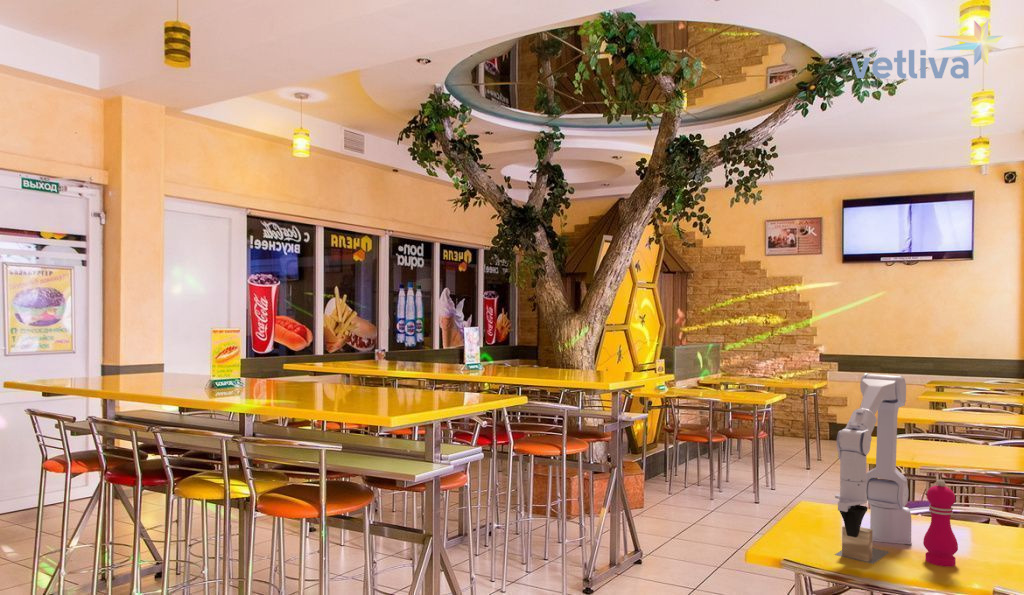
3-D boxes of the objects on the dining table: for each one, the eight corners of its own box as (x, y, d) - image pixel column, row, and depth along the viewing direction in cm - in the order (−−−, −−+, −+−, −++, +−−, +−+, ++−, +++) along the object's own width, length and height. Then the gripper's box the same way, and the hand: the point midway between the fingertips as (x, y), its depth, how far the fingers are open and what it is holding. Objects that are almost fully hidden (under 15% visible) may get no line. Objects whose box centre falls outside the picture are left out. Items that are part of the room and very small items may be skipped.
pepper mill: (957, 570, 171) (958, 484, 171) (922, 564, 175) (923, 480, 175) (958, 561, 177) (958, 478, 177) (923, 555, 181) (924, 474, 181)
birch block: (867, 561, 175) (868, 532, 175) (841, 555, 179) (842, 526, 179) (872, 558, 177) (872, 529, 178) (846, 552, 182) (846, 524, 182)
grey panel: (852, 544, 189) (852, 543, 189) (890, 552, 183) (890, 551, 183) (834, 555, 180) (834, 554, 180) (873, 564, 173) (873, 563, 173)
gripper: (846, 472, 184) (845, 526, 184) (824, 481, 174) (824, 538, 173) (876, 477, 179) (875, 532, 179) (856, 486, 169) (855, 545, 169)
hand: (852, 536), depth 176 cm, fingers closed
